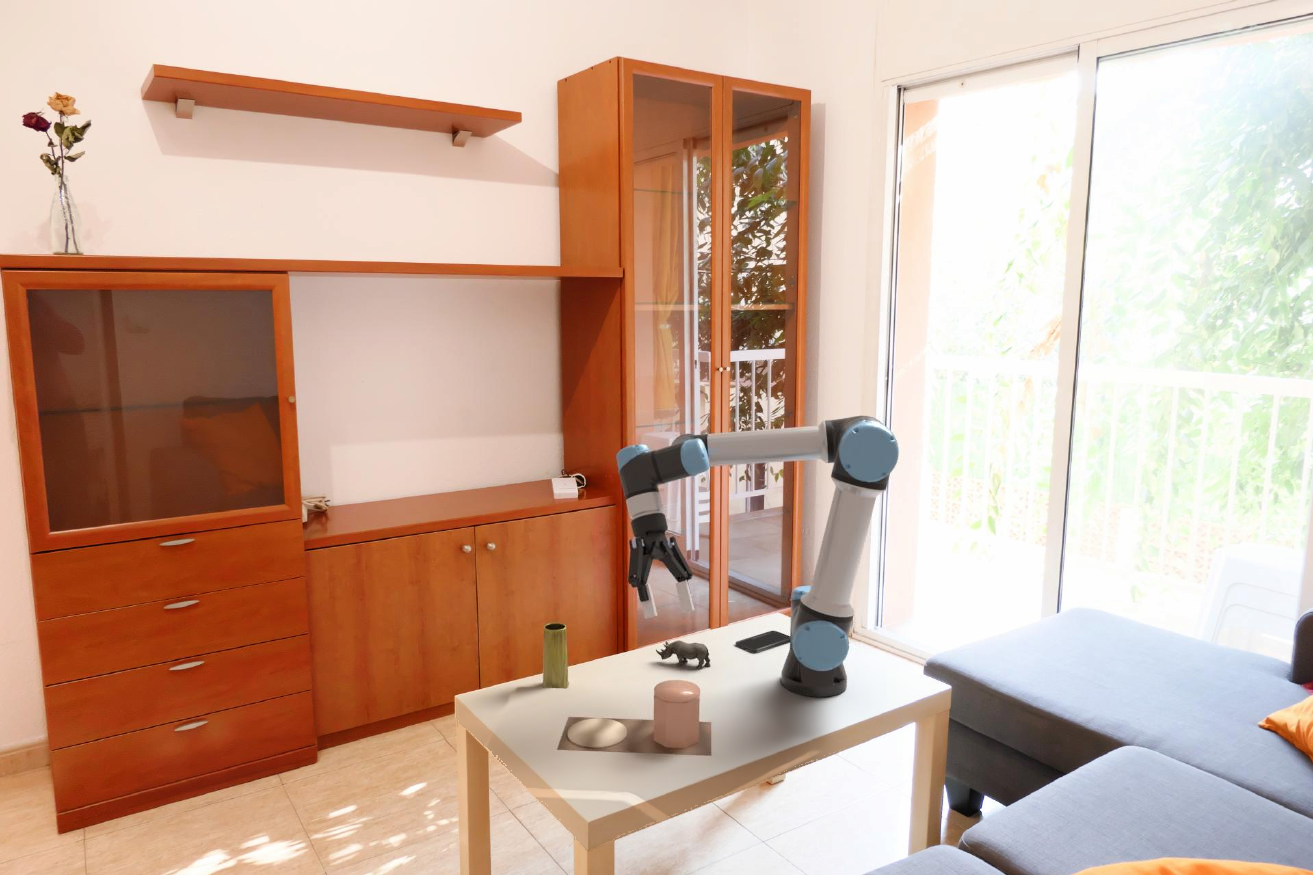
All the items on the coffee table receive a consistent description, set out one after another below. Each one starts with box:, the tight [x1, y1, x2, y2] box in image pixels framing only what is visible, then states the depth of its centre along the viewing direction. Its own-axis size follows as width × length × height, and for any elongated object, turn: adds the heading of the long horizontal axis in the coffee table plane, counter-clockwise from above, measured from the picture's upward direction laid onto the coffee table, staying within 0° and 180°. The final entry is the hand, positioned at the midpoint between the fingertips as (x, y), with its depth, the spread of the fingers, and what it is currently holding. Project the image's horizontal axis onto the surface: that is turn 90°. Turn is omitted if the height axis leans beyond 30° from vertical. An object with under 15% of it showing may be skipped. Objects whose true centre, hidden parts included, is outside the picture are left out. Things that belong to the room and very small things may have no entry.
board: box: [556, 716, 712, 757], centre depth 176 cm, size 30×14×1 cm, turn 86°
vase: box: [541, 622, 570, 689], centre depth 201 cm, size 6×6×14 cm
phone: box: [735, 630, 790, 654], centre depth 230 cm, size 8×1×15 cm
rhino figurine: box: [655, 640, 711, 670], centre depth 215 cm, size 4×14×6 cm, turn 74°
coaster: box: [568, 717, 627, 748], centre depth 176 cm, size 12×12×1 cm
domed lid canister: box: [653, 679, 701, 748], centre depth 175 cm, size 9×9×10 cm
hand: (670, 614), depth 181 cm, fingers open, 13 cm apart
